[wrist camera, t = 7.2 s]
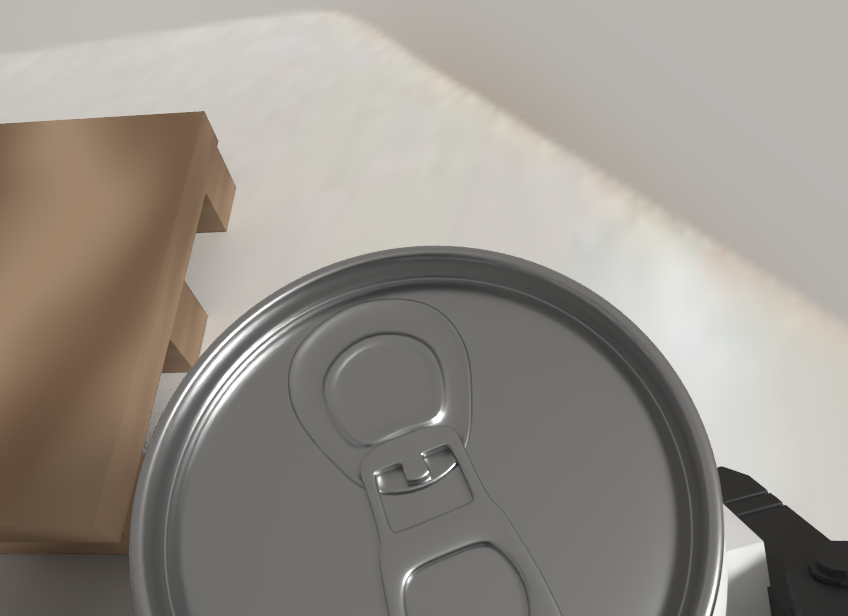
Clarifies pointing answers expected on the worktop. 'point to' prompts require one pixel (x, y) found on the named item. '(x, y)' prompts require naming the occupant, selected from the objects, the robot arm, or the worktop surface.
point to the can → (430, 455)
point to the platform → (94, 312)
